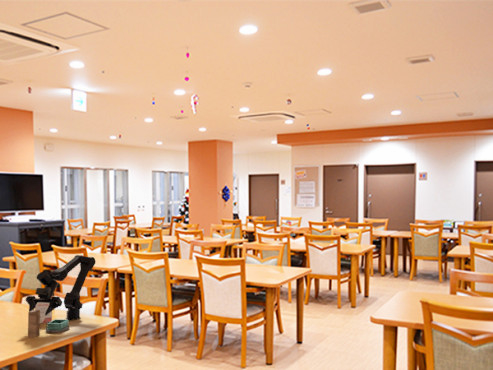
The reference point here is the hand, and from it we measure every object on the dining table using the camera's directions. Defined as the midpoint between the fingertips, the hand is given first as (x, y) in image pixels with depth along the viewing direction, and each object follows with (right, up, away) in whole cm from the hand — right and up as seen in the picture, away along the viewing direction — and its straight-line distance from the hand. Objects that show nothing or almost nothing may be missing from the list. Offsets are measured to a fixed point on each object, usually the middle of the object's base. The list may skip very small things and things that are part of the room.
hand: (37, 314), depth 226 cm
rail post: (0, -10, -4) cm, 11 cm away
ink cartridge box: (-7, -11, +22) cm, 26 cm away
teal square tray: (+8, -10, +7) cm, 15 cm away
